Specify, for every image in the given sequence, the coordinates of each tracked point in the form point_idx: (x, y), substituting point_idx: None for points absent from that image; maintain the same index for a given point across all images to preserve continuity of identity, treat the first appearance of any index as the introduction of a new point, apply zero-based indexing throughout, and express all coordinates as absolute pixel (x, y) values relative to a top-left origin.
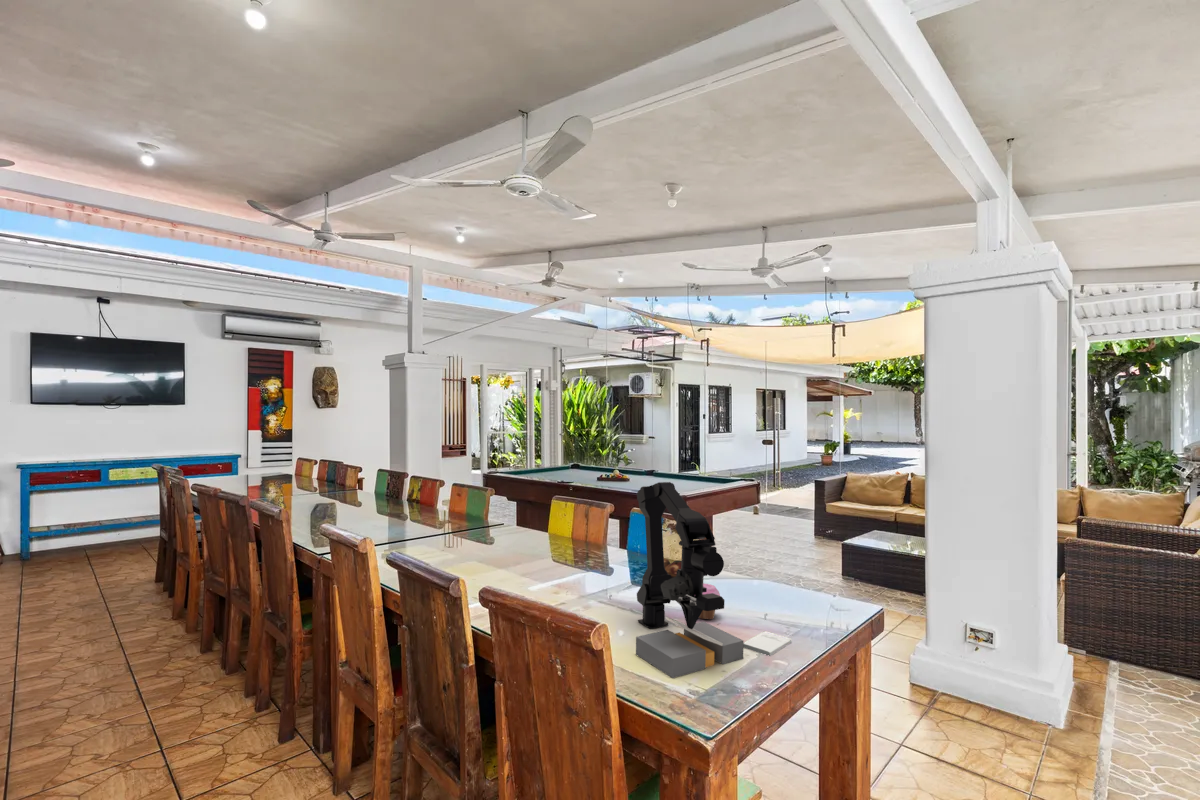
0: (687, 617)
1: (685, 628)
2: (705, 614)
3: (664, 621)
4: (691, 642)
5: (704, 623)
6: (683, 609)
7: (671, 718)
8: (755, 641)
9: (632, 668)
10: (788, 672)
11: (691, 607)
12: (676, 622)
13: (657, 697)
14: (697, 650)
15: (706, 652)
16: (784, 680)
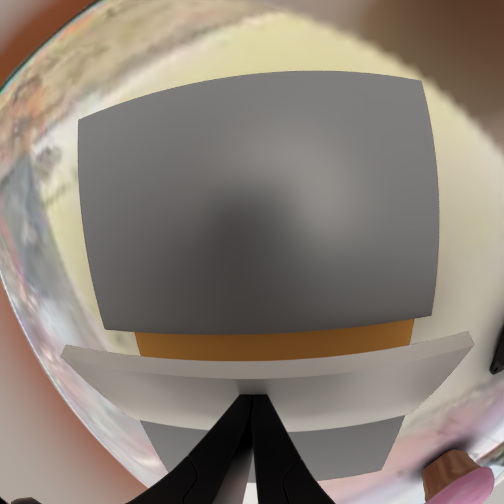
0: (254, 452)
1: (237, 367)
2: (438, 467)
3: (501, 364)
4: (276, 360)
5: (367, 467)
6: (301, 501)
7: (17, 73)
8: (246, 491)
9: (265, 32)
10: (100, 435)
11: (28, 498)
12: (367, 366)
13: (71, 56)
14: (109, 294)
15: (147, 345)
16: (68, 403)
